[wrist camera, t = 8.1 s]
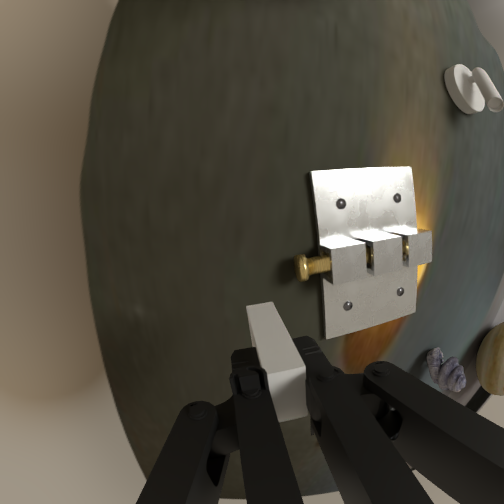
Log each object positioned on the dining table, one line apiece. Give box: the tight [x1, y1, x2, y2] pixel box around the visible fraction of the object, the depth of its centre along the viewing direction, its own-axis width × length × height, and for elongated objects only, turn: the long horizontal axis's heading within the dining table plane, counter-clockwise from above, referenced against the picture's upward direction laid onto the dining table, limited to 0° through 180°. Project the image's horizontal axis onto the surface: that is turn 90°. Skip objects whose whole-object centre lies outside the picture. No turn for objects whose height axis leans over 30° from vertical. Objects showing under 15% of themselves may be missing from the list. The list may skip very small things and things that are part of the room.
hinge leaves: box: [309, 167, 432, 339], centre depth 29 cm, size 20×14×4 cm
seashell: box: [427, 347, 466, 392], centre depth 31 cm, size 5×5×10 cm
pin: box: [294, 240, 406, 282], centre depth 29 cm, size 3×16×3 cm, turn 98°
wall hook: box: [444, 64, 504, 114], centre depth 25 cm, size 9×10×10 cm
